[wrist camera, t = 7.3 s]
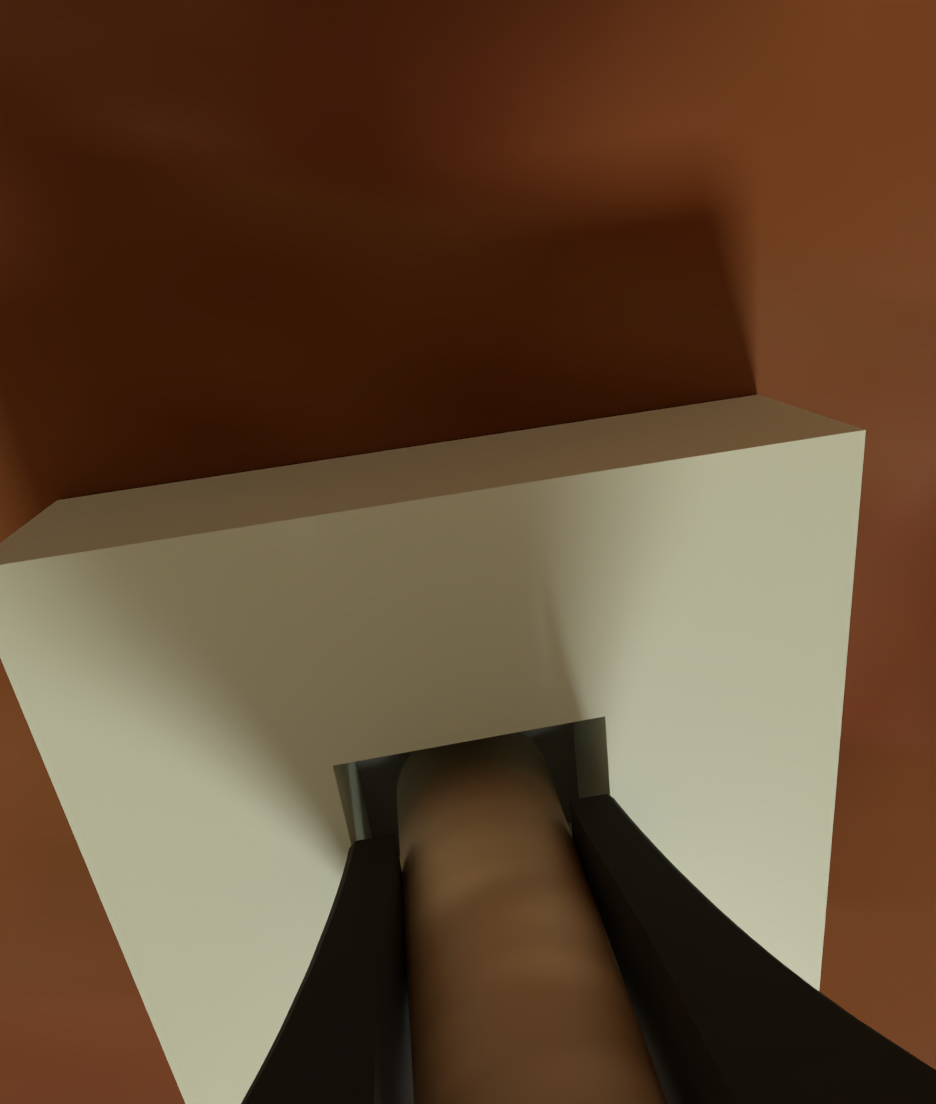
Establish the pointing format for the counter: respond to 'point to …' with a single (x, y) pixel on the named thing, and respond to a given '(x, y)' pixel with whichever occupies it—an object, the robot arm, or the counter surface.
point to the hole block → (436, 678)
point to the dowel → (507, 940)
